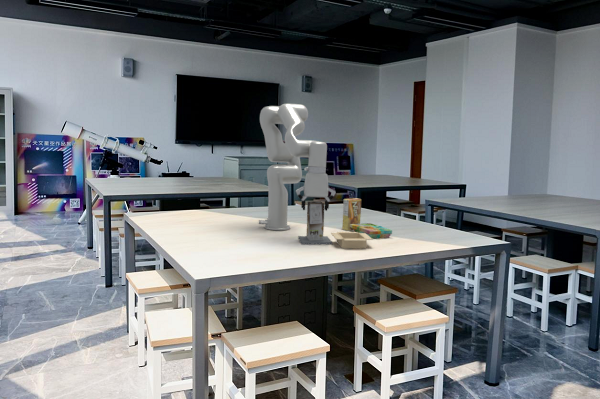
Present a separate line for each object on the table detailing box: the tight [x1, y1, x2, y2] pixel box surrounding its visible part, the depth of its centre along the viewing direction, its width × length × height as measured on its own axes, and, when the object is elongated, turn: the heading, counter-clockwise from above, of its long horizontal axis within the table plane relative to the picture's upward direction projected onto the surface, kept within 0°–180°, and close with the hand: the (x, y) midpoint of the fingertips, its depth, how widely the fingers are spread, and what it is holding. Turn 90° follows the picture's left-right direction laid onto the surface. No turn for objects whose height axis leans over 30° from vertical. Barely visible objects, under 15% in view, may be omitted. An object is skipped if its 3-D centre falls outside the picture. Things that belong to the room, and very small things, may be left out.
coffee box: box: [306, 200, 325, 241], centre depth 216 cm, size 9×6×16 cm
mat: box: [298, 235, 333, 245], centre depth 217 cm, size 13×13×1 cm
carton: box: [330, 231, 374, 249], centre depth 211 cm, size 15×18×4 cm
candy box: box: [341, 197, 362, 231], centre depth 249 cm, size 9×4×15 cm, turn 129°
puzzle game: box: [350, 222, 393, 239], centre depth 237 cm, size 12×5×20 cm
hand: (314, 209), depth 216 cm, fingers open, 9 cm apart
